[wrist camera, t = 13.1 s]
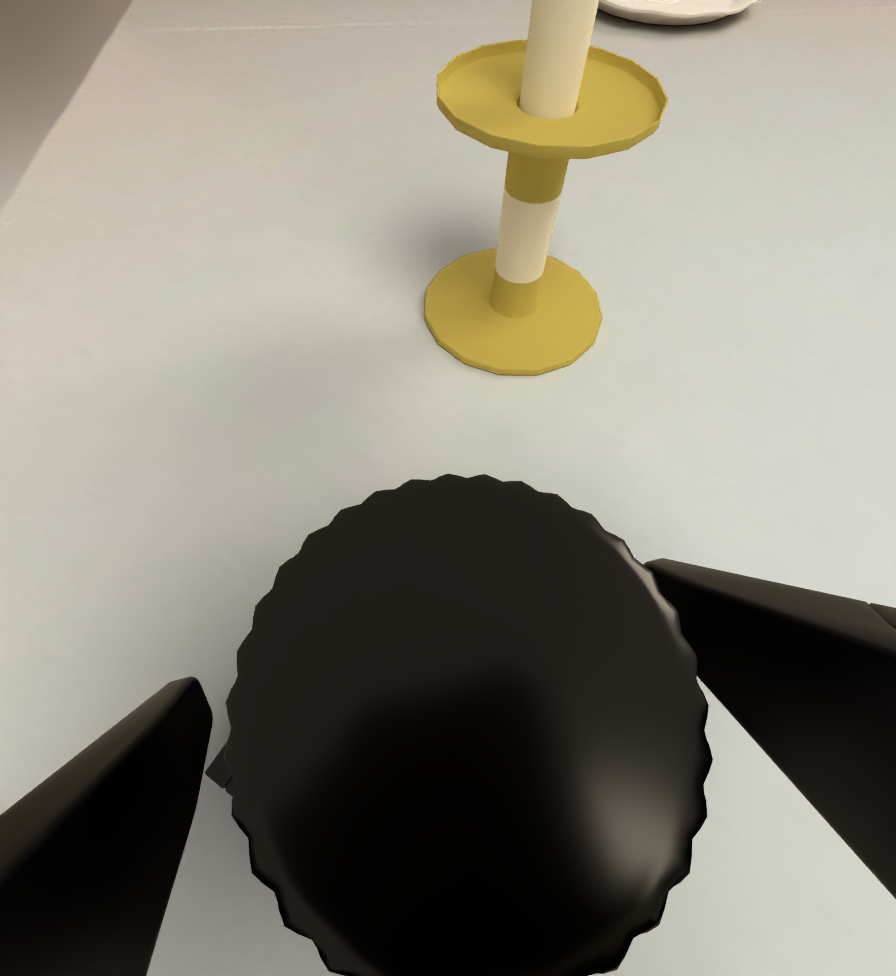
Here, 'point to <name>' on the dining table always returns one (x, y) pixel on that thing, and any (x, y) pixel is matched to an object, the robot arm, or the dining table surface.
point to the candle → (535, 185)
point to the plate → (674, 10)
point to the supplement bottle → (467, 737)
